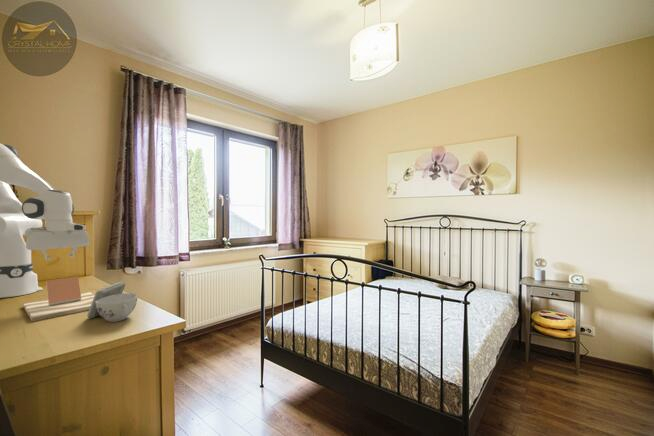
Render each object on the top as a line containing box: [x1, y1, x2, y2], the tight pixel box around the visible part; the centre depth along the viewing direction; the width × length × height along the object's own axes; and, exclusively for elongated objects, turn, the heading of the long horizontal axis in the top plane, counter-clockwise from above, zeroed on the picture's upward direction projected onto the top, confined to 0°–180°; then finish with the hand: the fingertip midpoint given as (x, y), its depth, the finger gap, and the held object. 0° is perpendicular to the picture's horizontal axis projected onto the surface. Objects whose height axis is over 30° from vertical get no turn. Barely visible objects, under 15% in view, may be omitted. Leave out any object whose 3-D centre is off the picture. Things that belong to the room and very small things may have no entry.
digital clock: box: [86, 281, 126, 319], centre depth 113 cm, size 16×9×11 cm, turn 176°
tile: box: [45, 276, 82, 306], centre depth 121 cm, size 11×10×1 cm
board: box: [22, 291, 95, 323], centre depth 120 cm, size 26×22×2 cm
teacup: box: [95, 292, 139, 323], centre depth 105 cm, size 15×12×8 cm
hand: (59, 258), depth 126 cm, fingers open, 6 cm apart
